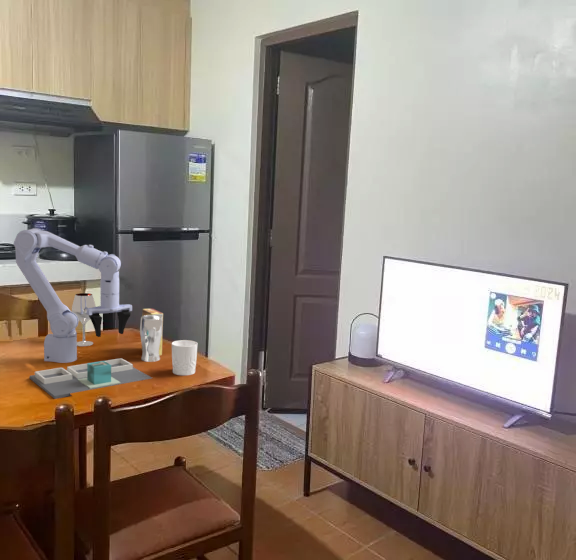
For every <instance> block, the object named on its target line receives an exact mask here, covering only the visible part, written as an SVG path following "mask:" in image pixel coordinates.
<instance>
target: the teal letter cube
mask: <svg viewBox="0 0 576 560" xmlns="http://www.w3.org/2000/svg"><path fill="white" fill-rule="evenodd" d="M105 361H106V360H100V361H94V362H87V363H86V364H87V380H88V381H90V382H91V383H92V384H94V385H96V384H102V383H107V382H111V365H110V364H109V363H107V362H105Z"/></svg>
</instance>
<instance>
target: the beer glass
mask: <svg viewBox="0 0 576 560" xmlns="http://www.w3.org/2000/svg"><path fill="white" fill-rule="evenodd" d="M139 325H140V327H139V334H140V341H141V351H142V350H143V351H142V355H141V361H142V362H148V363H149V362H150V363H154V362H158V361H160V360H161V357H160V355H159V346H160V341H161V335H162V320H161V316H158V315H144V316H140V324H139Z"/></svg>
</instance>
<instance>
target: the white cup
mask: <svg viewBox="0 0 576 560" xmlns="http://www.w3.org/2000/svg"><path fill="white" fill-rule="evenodd" d="M197 355H198V342H197V341H194V340H189V339H188V340H187V339H183V340H181V339H180V340H174V341H172V342H171V360H172V361H171V362H172V363H171V364H172V365H171V366H172V373H173V375H177V376H191V375H194V374H195V373H196V367H197V358H198V356H197Z"/></svg>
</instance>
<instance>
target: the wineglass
mask: <svg viewBox="0 0 576 560" xmlns="http://www.w3.org/2000/svg"><path fill="white" fill-rule="evenodd" d="M73 298H74V299H73V301H72V302H73V303H72V305H71V312H73V313H74V314H76V315H77V317H78V321H79V322H80V323H81V324H82V341H77V347H89V346H92V345H93V344H94V342H93V341H88V340H86V324H87V323H88V321H91V319H90V317H89V315H87V308H93V307H97V306H96V303H95V299H94V295H93V294H92V293H89V292H79V293H75V295H74V297H73Z"/></svg>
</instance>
